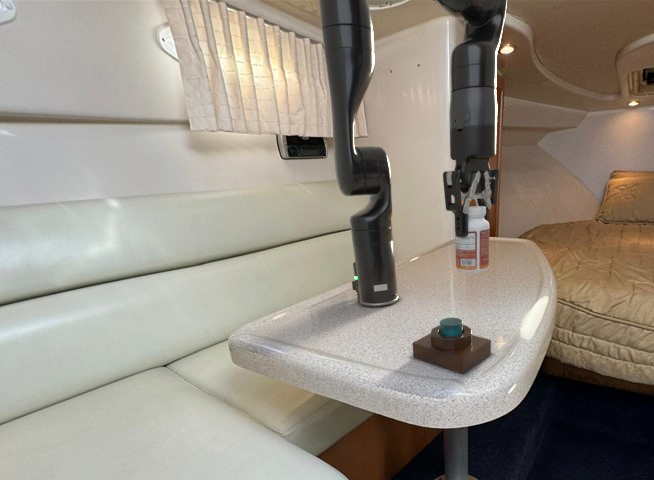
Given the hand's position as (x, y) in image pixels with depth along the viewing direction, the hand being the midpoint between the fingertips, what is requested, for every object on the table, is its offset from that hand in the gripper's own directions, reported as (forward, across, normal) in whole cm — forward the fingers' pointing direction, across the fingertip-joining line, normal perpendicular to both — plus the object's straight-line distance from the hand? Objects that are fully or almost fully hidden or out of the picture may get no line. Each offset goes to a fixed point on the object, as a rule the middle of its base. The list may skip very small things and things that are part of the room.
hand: (472, 233), depth 66 cm
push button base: (+17, +15, +6) cm, 23 cm away
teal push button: (+13, +15, +6) cm, 20 cm away
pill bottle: (+7, 0, 0) cm, 7 cm away
